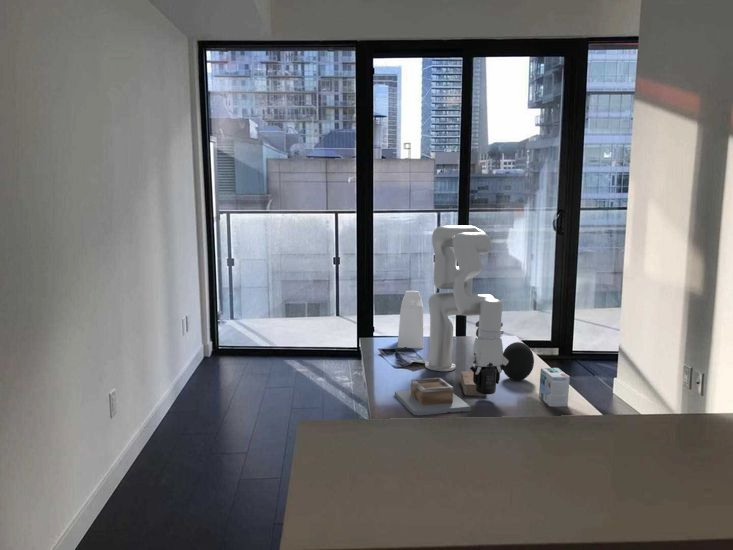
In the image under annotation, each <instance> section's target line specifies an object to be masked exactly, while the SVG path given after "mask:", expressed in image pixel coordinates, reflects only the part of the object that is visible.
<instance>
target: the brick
mask: <svg viewBox="0 0 733 550" xmlns="http://www.w3.org/2000/svg"><path fill="white" fill-rule="evenodd" d="M473 373H474V372H472V370H470V371H467V370H466V371H465V370H464V371H463V370H462V371H461V373H460V385H461V388H462V387H463V388H462V391H463V393H464V395H465V396H472V395H473V396H474V395H479V396H478V397H487V394H481V393H478V392H477V391H476V384H475V383H474V382H473Z"/></svg>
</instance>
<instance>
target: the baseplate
mask: <svg viewBox="0 0 733 550" xmlns="http://www.w3.org/2000/svg"><path fill="white" fill-rule="evenodd" d="M394 397H395V398H396V399H397V400H398V401H399V402H400V403H401V404H402V405H404V407H405V408H406V409H407V410H408V411H409V412H410V413H411V412H412V413H413V414H414V415H417V416H425V415H426V416H427V415H436V414H437V415H438V414H447V412H451V413H460V412H461V411H462V412H470V411H471V410H472V409H471V407H472V406H471V405H469V403H467V402H465V401H464V400H463V399H462V398H461V397H459V396H458V395H456V394H455V392H453V403H446V404H434V405H421V404H420V403H419V402H418V401H417V400H416V399H415V398H414V397H413V396H412V395H411V389H409V390H400V391H399V390H398V391H397V390H396V391H394ZM412 413H411V414H412ZM413 414H412V415H413ZM414 415H413V416H414Z"/></svg>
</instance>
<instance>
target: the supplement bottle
mask: <svg viewBox="0 0 733 550" xmlns="http://www.w3.org/2000/svg"><path fill="white" fill-rule="evenodd" d="M492 365H493V364H492V363H491V362H490V363H489V365H487V367H482V368H481V370H480V372H479V374H480V385H476V391H477V392H478V393H481V394H487V395H488V396H489V395H494V394H495V393H496V390H497V388H496V387H497V384H496V375H497V369H496V367H495V366H492ZM487 395H486V396H487Z"/></svg>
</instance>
